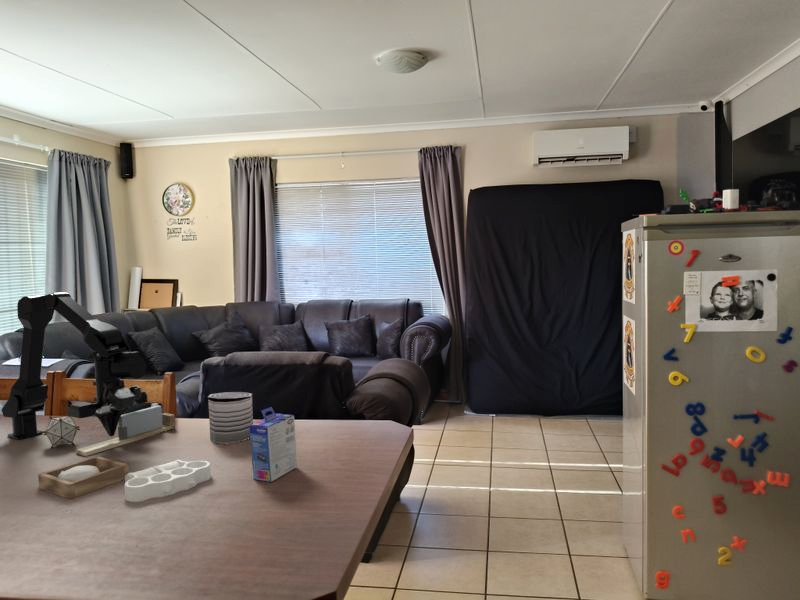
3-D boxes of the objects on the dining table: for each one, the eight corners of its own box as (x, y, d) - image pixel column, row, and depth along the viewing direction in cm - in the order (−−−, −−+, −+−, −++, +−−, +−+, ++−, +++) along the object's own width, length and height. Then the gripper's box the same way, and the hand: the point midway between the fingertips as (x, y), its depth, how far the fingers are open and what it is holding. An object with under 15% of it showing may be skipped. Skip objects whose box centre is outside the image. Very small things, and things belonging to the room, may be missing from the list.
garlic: (55, 493, 122) (54, 476, 122) (60, 482, 128) (59, 465, 128) (98, 487, 125) (97, 469, 125) (101, 476, 131) (100, 460, 131)
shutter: (118, 437, 155) (117, 415, 155) (158, 426, 165) (157, 405, 165) (124, 439, 154) (122, 416, 154) (163, 427, 164) (162, 406, 164)
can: (200, 439, 155) (198, 395, 154) (233, 428, 165) (231, 386, 164) (230, 446, 149) (228, 400, 148) (262, 434, 159) (261, 391, 158)
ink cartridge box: (278, 464, 136) (275, 402, 135) (298, 467, 133) (295, 404, 132) (250, 479, 127) (247, 413, 126) (271, 483, 124) (268, 416, 123)
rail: (76, 453, 147) (75, 438, 146) (166, 426, 169) (165, 412, 168) (85, 456, 144) (84, 440, 144) (175, 428, 167) (174, 414, 166)
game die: (67, 460, 153) (64, 437, 147) (36, 450, 153) (32, 425, 147) (88, 435, 160) (86, 411, 154) (59, 424, 160) (56, 400, 154)
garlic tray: (39, 488, 125) (38, 474, 125) (97, 468, 136) (96, 455, 136) (70, 499, 118) (69, 484, 118) (129, 477, 129) (128, 464, 129)
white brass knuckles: (190, 467, 136) (222, 482, 126) (109, 490, 123) (138, 510, 113) (189, 453, 136) (221, 467, 126) (108, 475, 123) (137, 493, 113)
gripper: (90, 387, 139) (94, 451, 140) (159, 372, 155) (162, 430, 156) (64, 382, 145) (68, 444, 146) (133, 369, 161) (136, 425, 162)
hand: (111, 435), depth 152 cm, fingers closed
